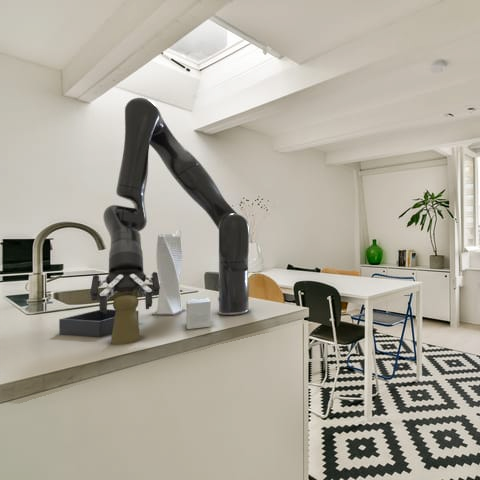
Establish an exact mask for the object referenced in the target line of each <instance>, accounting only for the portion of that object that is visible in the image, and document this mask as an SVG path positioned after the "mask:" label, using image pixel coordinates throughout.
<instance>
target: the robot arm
mask: <svg viewBox="0 0 480 480" xmlns="http://www.w3.org/2000/svg"><path fill="white" fill-rule="evenodd" d="M124 131H125V132H124V144H123V151H122V158H121V162H120V163H121V164H120V169H119V174H118V180H117V184H116V191H115V192H116V193H115V194H116V195H117V196H118V197H120V198H122V199H125V200H127V201H129V202H131V203H132V204H133V207H130V206H125V205H119V204H111V205H109V206H107V207H106V208H105V210H104V211H103V216H102V217H103V224H104V226H105V228H106V230H107V232H108V234H109V237H110V248H109V251H108V252H109V253H108V275H107V276H105V277H104V276H103V277H101V276H99V275H98V274H95V275H92V280H91V286H90V300H91V301H99V306H98V307H99V309H98V310H100V312H103V314H106V313H107V309H108V299H110V298H111V297H113V296H114V295H115V294H116V293H125V292H128V293H129V292H131V293H132V292H135V291H137V293H139V294H141V295H143V296H145V297H144V302H145V303H144V304H145V310H150V308H151V307H152V306H153V296H159V289H160V279H159V275H158V271H157V272H156V271H153V272H152V273H151V274H145V272H144V254H143V248H142V236H141V233H140V232H141V231H143V230H144V229H145V227H146V226H147V223H148V219H147V212H146V205H145V193H146V189H147V183H148V176H149V153H150V152H149V151H150V147H151V148H152V149H153V150H154V151H155V152H156V153H157V155H158V156H159V157H160V160H161V161H162V162H163V164H164V165H165V166H164V167H166V169H167V170H168V172H169V173H170V174H171V176H172V177H173V179H175V181H176V183H178V185H179V186H180V187H181V188H182V189H183V190H184V191H185V193H187V195H188V196H189V197H190V198H191V199H192V200H193V201H194V202H195V203H196V204H197V205H198V206H200V207H201V208H202V209H203V210H204V211H205V212H206V214H207V215H208V216H209V218H210V219H211V220H212V222H213V223H214V225H215V226H216V228H217V229H218V296H217V301H218V312H217V313H218V314H219V315H222V316H237V315H244V314H246V313H248V312H249V294H250V293H249V250H250V225H249V222H248V220H247V219H246V218H245V217H244V216H243V215H241V214H239V213H237V212H236V211H235V210H234V209H233V207H232V206H231V204H229V203H228V202H227V201H226V199H225V198H224V196H223V195H222V193H221V191H220V189H219V188H218V186H217V184H216V183H215V181H214V179H213V178H212V176H211V175H210V174H209V172H208V171H207V169H206V168H204V166H203V165H202V164H201V162H200V161H199V159H197V158H196V157H195V156H194V155H193V154H192V153H191V152H190V151H189V150H188V149H187V148H185V147H184V146H183V145H182V144H181V142H179V141H178V139H177V138H176V137H175V136H174V134H173V133H172V131H171V130H170V129H169V126H168V125H167V124H166V122H165V120H164V118H163V116H162V113H161V112H160V110H159V108H158V106H157V105H156V104H155V103H154V102H153V101H152V100H150V99H147V98H145V97H135V98H131V99H130V100H129V101H128V102H127V103H126V105H125V107H124ZM146 281H148V282H149V283H150V284H152V288H150V286H148V285H147V283H146ZM104 283H106V284H107V285H106V287H105V288H104V289H103V290H102V291H100V292H99V288H100V287H102V286H104V285H103V284H104Z"/></svg>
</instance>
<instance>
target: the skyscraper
mask: <svg viewBox="0 0 480 480" xmlns="http://www.w3.org/2000/svg"><path fill="white" fill-rule="evenodd" d="M178 232H179V236H177V235H178ZM182 234H183V230H182V229H181V228H178V229H177V230H176V231H175V233H164V234H163V233H159V234H158V235H157V241H156V270H157V274H158V280H159V286H160V289H159V294H158V295H157V305H156V311H155V312H153V313H151V316H175V315H178V314H180V313H181V312H184V311H185V310H186V309H185V308H182V306H183V305H182V295H181V287H180V280H179V278H180V274H181V269H182V263H183V242H182Z"/></svg>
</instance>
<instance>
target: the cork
mask: <svg viewBox="0 0 480 480" xmlns="http://www.w3.org/2000/svg"><path fill="white" fill-rule="evenodd" d="M138 306H139V298H138V297H137V295H136V296H135V295H131V294H129V295H128V294H127V295H121V296H117V297H115V298H114V300H113V301H112V308H113V310H116V313H115V319H114V326H113V332H112V333H111V339H110V343H111V345H112V344H113V345H124V344H125V345H126V344H130V343H134V342H135V343H136V342H137V341H139V340H141V334H140V333H141V332H140V326H139V324H138V323H139V318H138V319H137V313H136V311H137V308H138Z"/></svg>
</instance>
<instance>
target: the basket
mask: <svg viewBox="0 0 480 480" xmlns="http://www.w3.org/2000/svg"><path fill="white" fill-rule="evenodd" d="M115 313H116V310H115V309H109V308H107V313H106V314H103V312H100V309H97V310H93V311H88V312H83V313H79V314H76V315H72V316H68V317H63V318H59V320H58V323H59V324H58V328H59V329H58V332H59V333H58V334H59V335H66V336H67V335H68V336H79V337H81V336H82V337H94V338H95V337H96V338H101V337H104V336H106V335H110V334H112V332H113V326H114V319H115ZM136 313H137V319H138V320H139V310H136ZM139 324H140V323H139V322H138V325H139Z"/></svg>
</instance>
